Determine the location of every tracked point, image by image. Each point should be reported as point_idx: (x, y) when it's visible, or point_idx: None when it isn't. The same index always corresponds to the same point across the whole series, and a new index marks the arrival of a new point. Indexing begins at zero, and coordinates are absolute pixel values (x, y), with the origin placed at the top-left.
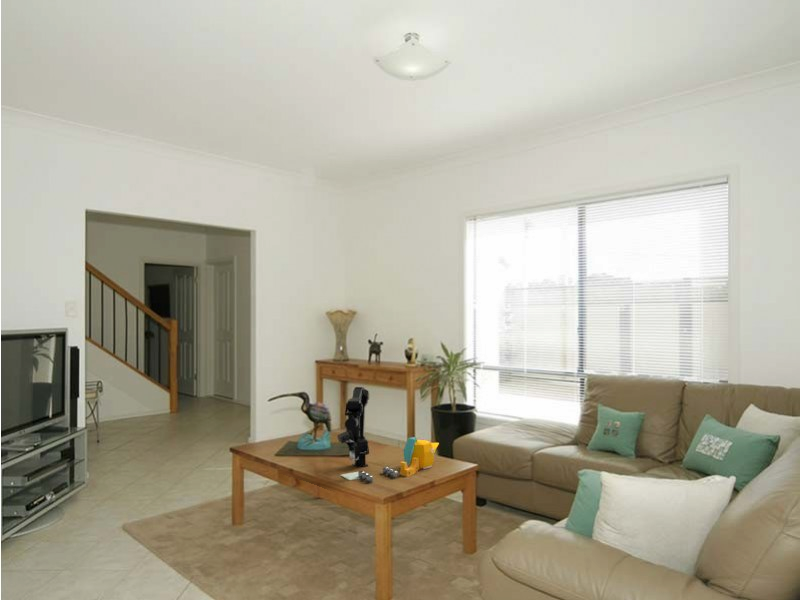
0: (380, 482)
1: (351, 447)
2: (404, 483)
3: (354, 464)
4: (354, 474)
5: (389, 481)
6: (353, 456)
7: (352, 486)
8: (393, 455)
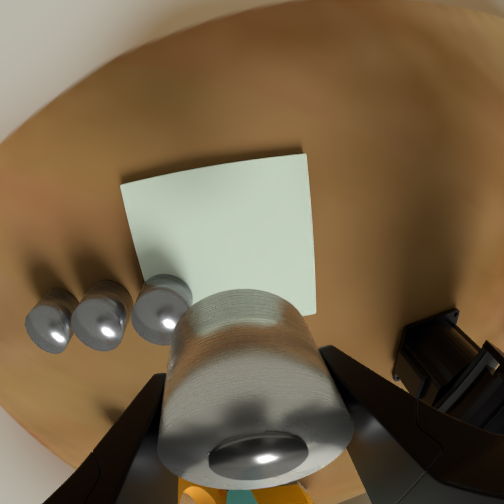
0: (54, 355)
1: (390, 474)
2: (44, 417)
3: (445, 320)
4: (256, 267)
5: (69, 393)
6: (167, 374)
7: (6, 173)
8: None
